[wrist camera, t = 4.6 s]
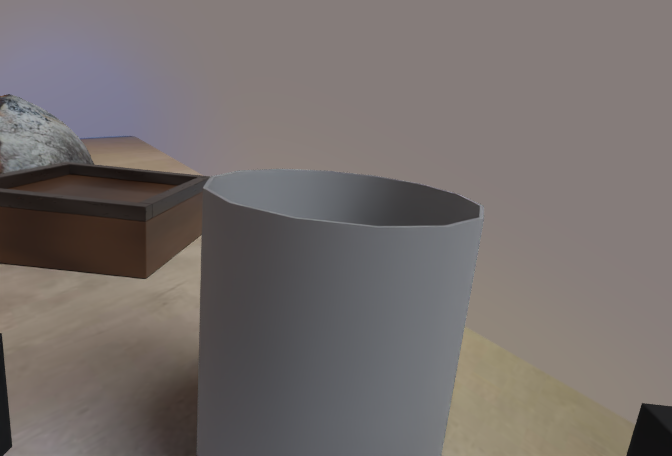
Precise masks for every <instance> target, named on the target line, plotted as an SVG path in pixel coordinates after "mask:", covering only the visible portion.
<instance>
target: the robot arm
mask: <svg viewBox="0 0 672 456" xmlns="http://www.w3.org/2000/svg"><path fill="white" fill-rule="evenodd" d="M11 447H12V439H11V429H10V418H9V407H8V396H7V385H6V375H5V364H4V353H3V342H2V333H0V456H3V455H4V454H5V453H6V452H7V451H8V450H9V449H10V448H11ZM626 456H672V406H662V405H653V404H644V403H642V405H641V408H640V412H639V415H638V419H637V422H636V425H635V428H634V432H633V435H632V439H631V442H630V445H629V449H628V452H627V455H626Z"/></svg>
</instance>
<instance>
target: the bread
mask: <svg viewBox="0 0 672 456" xmlns="http://www.w3.org/2000/svg"><path fill="white" fill-rule="evenodd" d="M62 162H73V163H82V164H92V165H94V163H93V161H92V159H91V156H90V154H89V152H88V150H87V148H86V146H85V145H84V144H83V143H82V141H81V140H80V139H79V138H78V136H77V135H76V134H75V133H74V132H73V131H72V130H71V129H70V128H68V127H67V126H66V125H65V124H64V123H63V122H62V121H60V120H59V119H57V118H56V117H55V116H53V115H51V114H50V113H48V112H47V111H46V110H44V109H42V108H40V107H38V106H36V105H34V104H32V103H29V102H27V101H25V100H23V99H22V98H20V97H16V96H13V95H10V94H9V95H4V96H0V174H2V173H7V172H13V171H18V170H24V169H29V168H35V167H40V166H46V165H51V164H57V163H62Z"/></svg>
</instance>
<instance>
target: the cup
mask: <svg viewBox="0 0 672 456" xmlns="http://www.w3.org/2000/svg"><path fill="white" fill-rule="evenodd" d="M483 221H484V206H483V205H481V204H479V203H477V202H475V201H472V200H470V199H468V198H466V197H464V196H462V195H460V194H457V193H453V192H450V191H446V190H442V189H438V188H435V187H431V186H427V185H424V184H420V183H414V182H407V181H402V180H396V179H389V178H384V177H378V176H372V175H362V174H353V173H343V172H334V171H318V170H295V169H268V170H267V169H266V170H243V171H235V172H231V173H226V174H221V175H216V176H211V177H210V178H209V179H208V181H207V182H206V184H205V185H204V187H203V204H202V247H201V289H200V332H199V374H198V417H197V456H441V454H442V449H443V443H444V438H445V432H446V426H447V421H448V415H449V410H450V404H451V399H452V393H453V388H454V382H455V377H456V371H457V365H458V360H459V354H460V349H461V343H462V338H463V332H464V327H465V321H466V315H467V310H468V304H469V299H470V293H471V288H472V282H473V277H474V271H475V266H476V260H477V255H478V249H479V244H480V238H481V232H482V227H483Z"/></svg>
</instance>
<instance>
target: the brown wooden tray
mask: <svg viewBox="0 0 672 456" xmlns="http://www.w3.org/2000/svg"><path fill="white" fill-rule="evenodd" d="M209 178H210V177H209V176H200V175H190V174H180V173H170V172H161V171H151V170H141V169H131V168H121V167H112V166H102V165H92V164H82V163H73V162H62V163H57V164H51V165H46V166H40V167H35V168H29V169H24V170H18V171H13V172H7V173H2V174H0V263H8V264H17V265H26V266H35V267H45V268H54V269H63V270H72V271H82V272H91V273H100V274H109V275H119V276H128V277H137V278H147V277H149V276H150V275H151V274H152V273H154V272H155V271H156V270H157V269H159V268H160V267H161V266H162V265H164V264H165V263H166V262H167V261H169V260H170V259H171V258H172V257H174V256H175V255H176V254H177V253H179V252H180V251H181V250H183V249H184V248H185V247H186V246H188V245H189V244H190V243H191V242H193V241H194V240H195V239H196V238H198V237H199V236H200V235H201V234H202V204H203V187H204V185H205V184H206V182H207V181H208V179H209Z"/></svg>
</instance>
